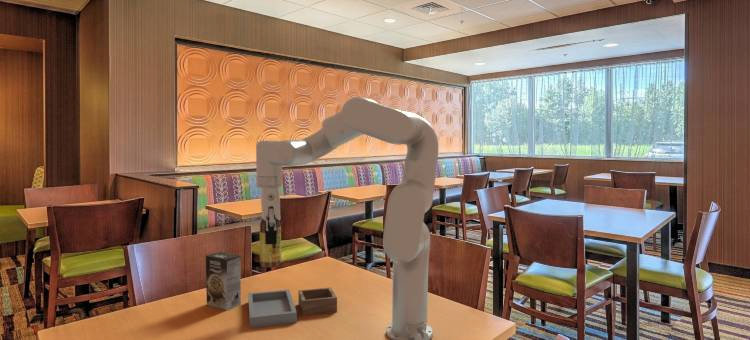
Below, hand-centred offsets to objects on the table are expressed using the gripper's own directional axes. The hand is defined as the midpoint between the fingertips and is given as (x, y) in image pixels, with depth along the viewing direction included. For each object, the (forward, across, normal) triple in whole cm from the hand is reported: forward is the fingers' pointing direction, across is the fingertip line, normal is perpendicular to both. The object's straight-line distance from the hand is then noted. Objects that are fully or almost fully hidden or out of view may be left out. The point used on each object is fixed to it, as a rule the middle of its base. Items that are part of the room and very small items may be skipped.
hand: (270, 240), depth 132 cm
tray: (+22, 0, 0) cm, 22 cm away
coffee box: (+22, +10, +14) cm, 28 cm away
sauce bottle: (+8, 0, 0) cm, 8 cm away
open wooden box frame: (+22, -1, -14) cm, 26 cm away
